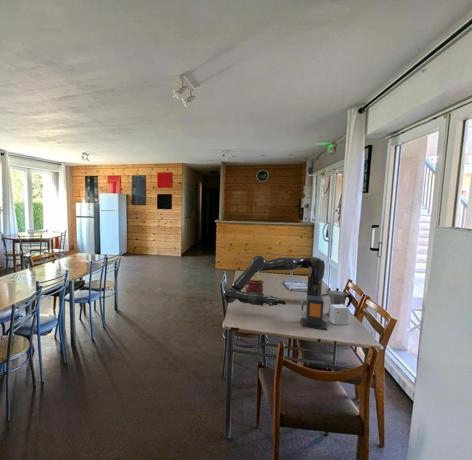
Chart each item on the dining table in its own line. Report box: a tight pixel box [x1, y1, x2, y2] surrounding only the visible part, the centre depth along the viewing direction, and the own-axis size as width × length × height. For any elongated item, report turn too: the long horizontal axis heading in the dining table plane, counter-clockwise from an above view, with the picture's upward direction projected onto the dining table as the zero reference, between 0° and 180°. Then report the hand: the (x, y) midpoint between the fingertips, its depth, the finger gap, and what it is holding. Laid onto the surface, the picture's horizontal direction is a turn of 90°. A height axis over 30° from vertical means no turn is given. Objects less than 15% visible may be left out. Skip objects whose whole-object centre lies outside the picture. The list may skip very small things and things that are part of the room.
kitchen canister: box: [245, 273, 264, 294], centre depth 221 cm, size 13×13×18 cm
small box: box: [329, 303, 349, 326], centre depth 173 cm, size 8×6×10 cm
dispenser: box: [301, 294, 327, 331], centre depth 171 cm, size 12×12×16 cm
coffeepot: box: [325, 287, 354, 317], centre depth 183 cm, size 15×9×18 cm, turn 43°
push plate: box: [300, 298, 305, 312], centre depth 173 cm, size 6×1×5 cm, turn 158°
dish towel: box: [282, 280, 307, 292], centre depth 247 cm, size 17×24×3 cm
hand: (285, 302), depth 176 cm, fingers closed
